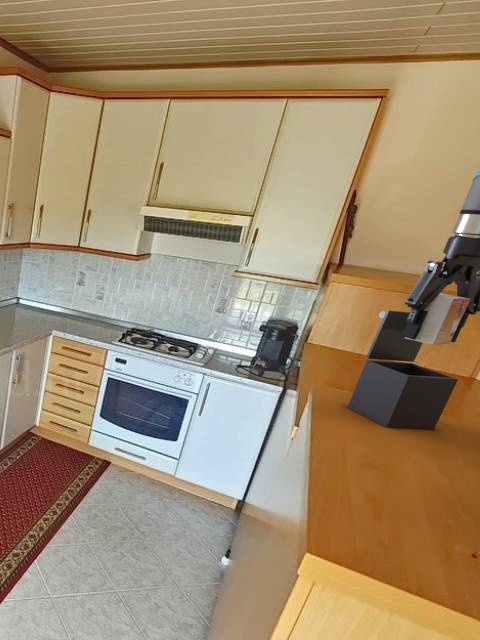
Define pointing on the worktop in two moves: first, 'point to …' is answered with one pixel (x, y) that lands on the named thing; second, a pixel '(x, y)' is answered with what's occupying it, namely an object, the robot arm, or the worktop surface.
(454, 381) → the dark gray bin
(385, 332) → the bin lid
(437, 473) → the worktop surface
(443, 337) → the small box
